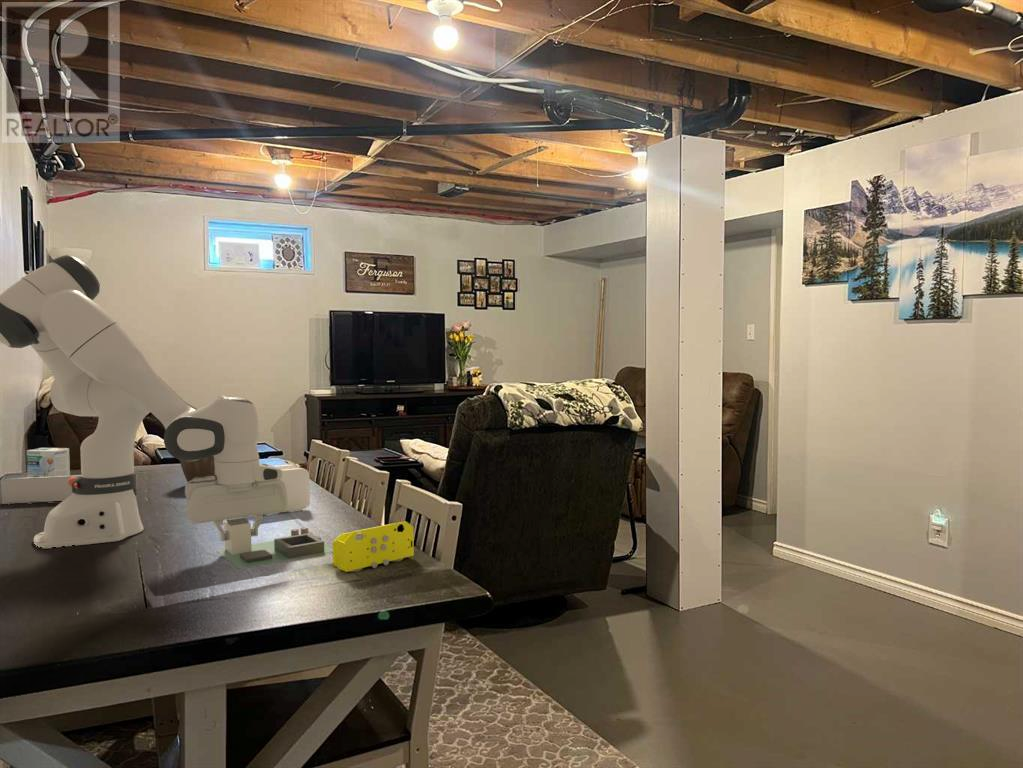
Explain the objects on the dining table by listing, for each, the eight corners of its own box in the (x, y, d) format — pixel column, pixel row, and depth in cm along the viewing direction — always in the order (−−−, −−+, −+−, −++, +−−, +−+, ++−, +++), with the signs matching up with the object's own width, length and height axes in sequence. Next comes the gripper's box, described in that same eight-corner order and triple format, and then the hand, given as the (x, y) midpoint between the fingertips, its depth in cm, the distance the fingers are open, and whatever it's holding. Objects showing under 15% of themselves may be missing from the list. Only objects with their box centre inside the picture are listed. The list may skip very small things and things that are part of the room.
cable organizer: (253, 518, 191) (252, 473, 190) (243, 510, 199) (242, 468, 199) (310, 510, 199) (309, 467, 198) (298, 503, 208) (297, 462, 207)
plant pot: (184, 480, 243) (183, 432, 243) (231, 479, 245) (230, 431, 244) (169, 489, 229) (167, 438, 228) (218, 488, 230) (217, 437, 229)
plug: (231, 554, 152) (230, 523, 151) (225, 549, 156) (224, 518, 156) (254, 550, 155) (252, 519, 154) (246, 545, 159) (245, 515, 158)
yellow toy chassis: (347, 576, 143) (346, 534, 142) (332, 570, 147) (331, 528, 146) (415, 559, 154) (414, 520, 153) (399, 554, 158) (399, 515, 157)
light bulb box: (26, 482, 241) (25, 450, 241) (43, 479, 248) (41, 447, 247) (55, 483, 239) (54, 450, 239) (71, 479, 246) (70, 447, 245)
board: (238, 576, 142) (237, 556, 142) (216, 557, 155) (215, 539, 155) (335, 558, 154) (335, 539, 154) (307, 541, 167) (307, 524, 167)
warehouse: (130, 490, 229) (129, 466, 228) (117, 500, 215) (116, 474, 214) (21, 496, 222) (20, 471, 221) (0, 506, 208) (-1, 479, 207)
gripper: (188, 481, 146) (190, 549, 146) (289, 470, 158) (291, 533, 158) (180, 476, 151) (182, 542, 151) (279, 466, 163) (281, 527, 164)
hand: (239, 538), depth 155 cm, fingers closed on plug, 4 cm apart
